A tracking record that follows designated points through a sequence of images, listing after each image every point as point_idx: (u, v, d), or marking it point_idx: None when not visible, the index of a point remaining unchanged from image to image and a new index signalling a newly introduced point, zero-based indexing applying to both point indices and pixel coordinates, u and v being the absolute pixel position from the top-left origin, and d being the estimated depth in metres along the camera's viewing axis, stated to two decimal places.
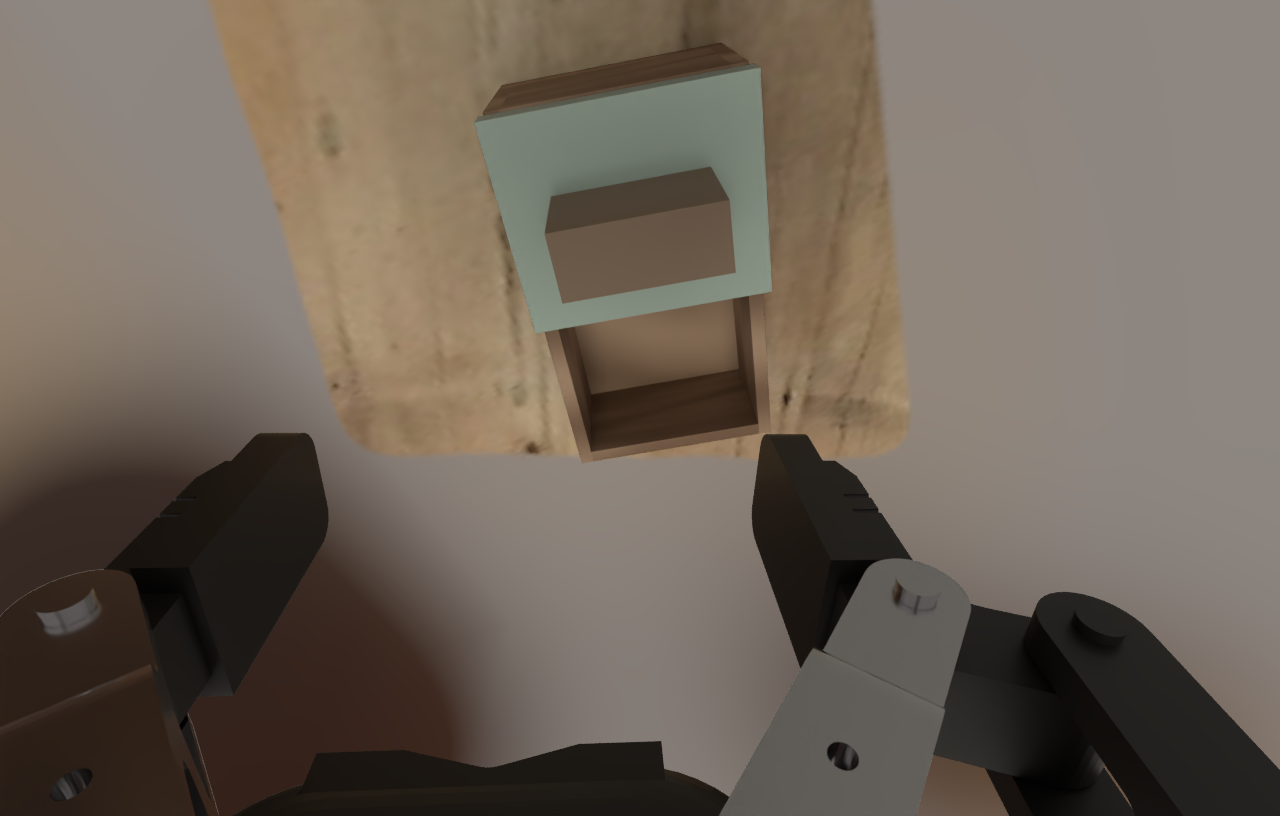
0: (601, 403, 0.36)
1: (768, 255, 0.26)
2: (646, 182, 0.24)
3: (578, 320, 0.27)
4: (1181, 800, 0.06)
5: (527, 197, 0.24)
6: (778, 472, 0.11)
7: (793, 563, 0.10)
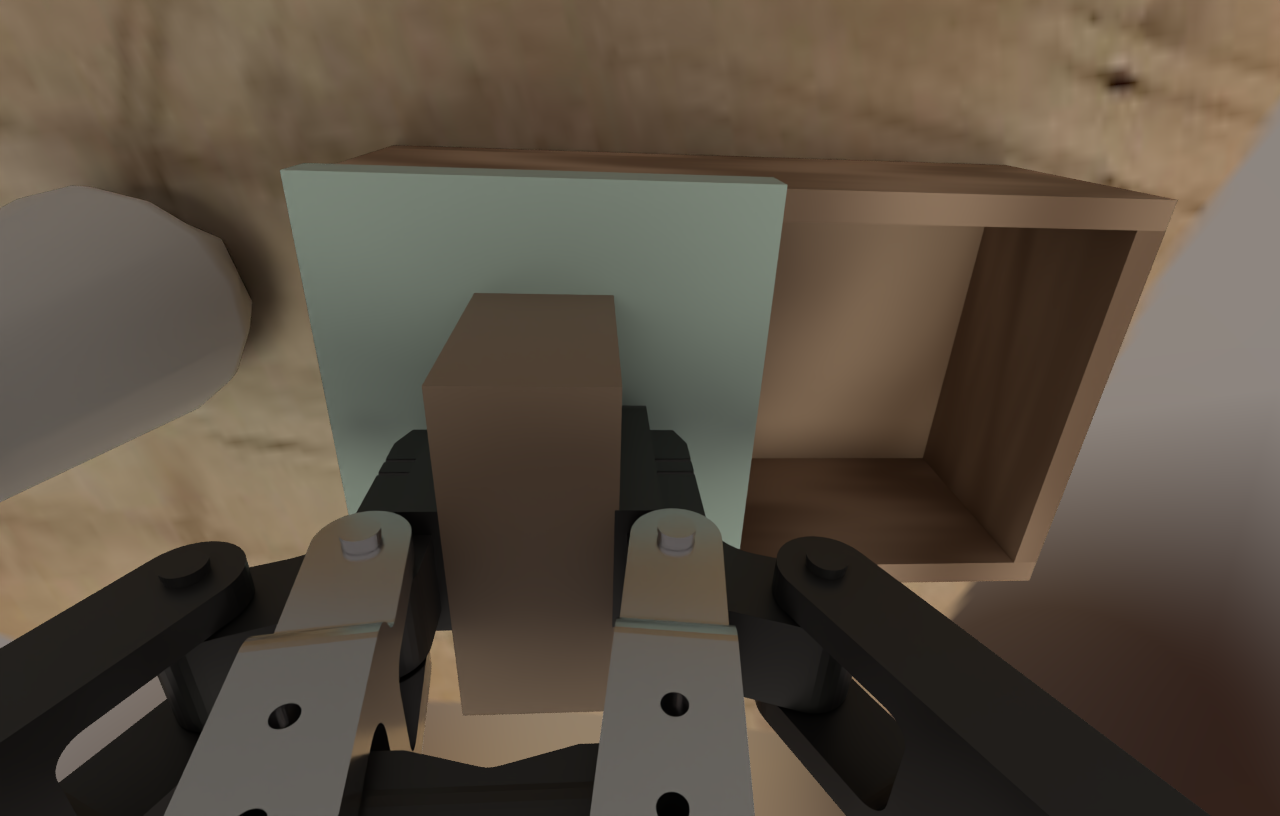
0: (942, 459, 0.20)
1: (694, 186, 0.11)
2: None
3: None
4: (929, 700, 0.06)
5: None
6: None
7: None
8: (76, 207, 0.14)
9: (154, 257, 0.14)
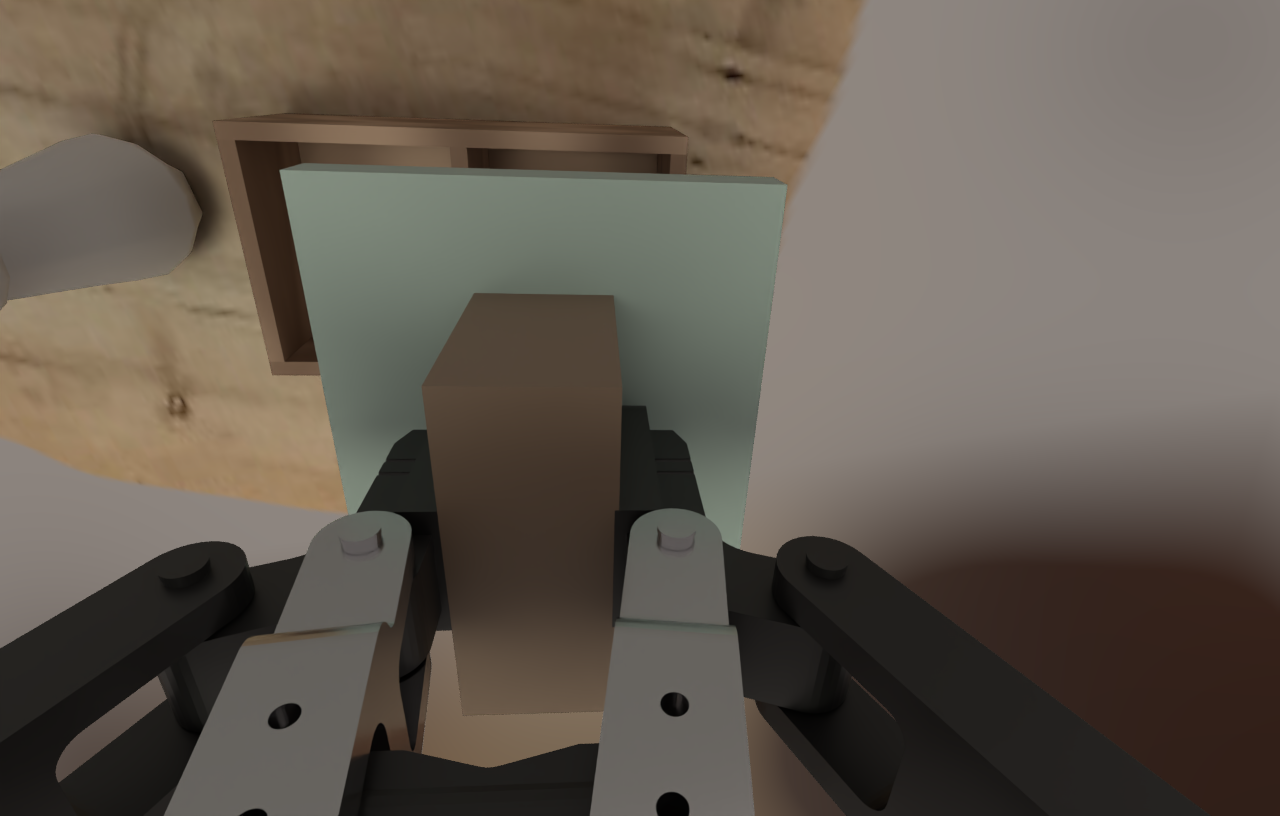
0: None
1: (694, 186, 0.11)
2: None
3: None
4: (929, 700, 0.06)
5: None
6: None
7: None
8: (95, 144, 0.25)
9: (139, 173, 0.25)
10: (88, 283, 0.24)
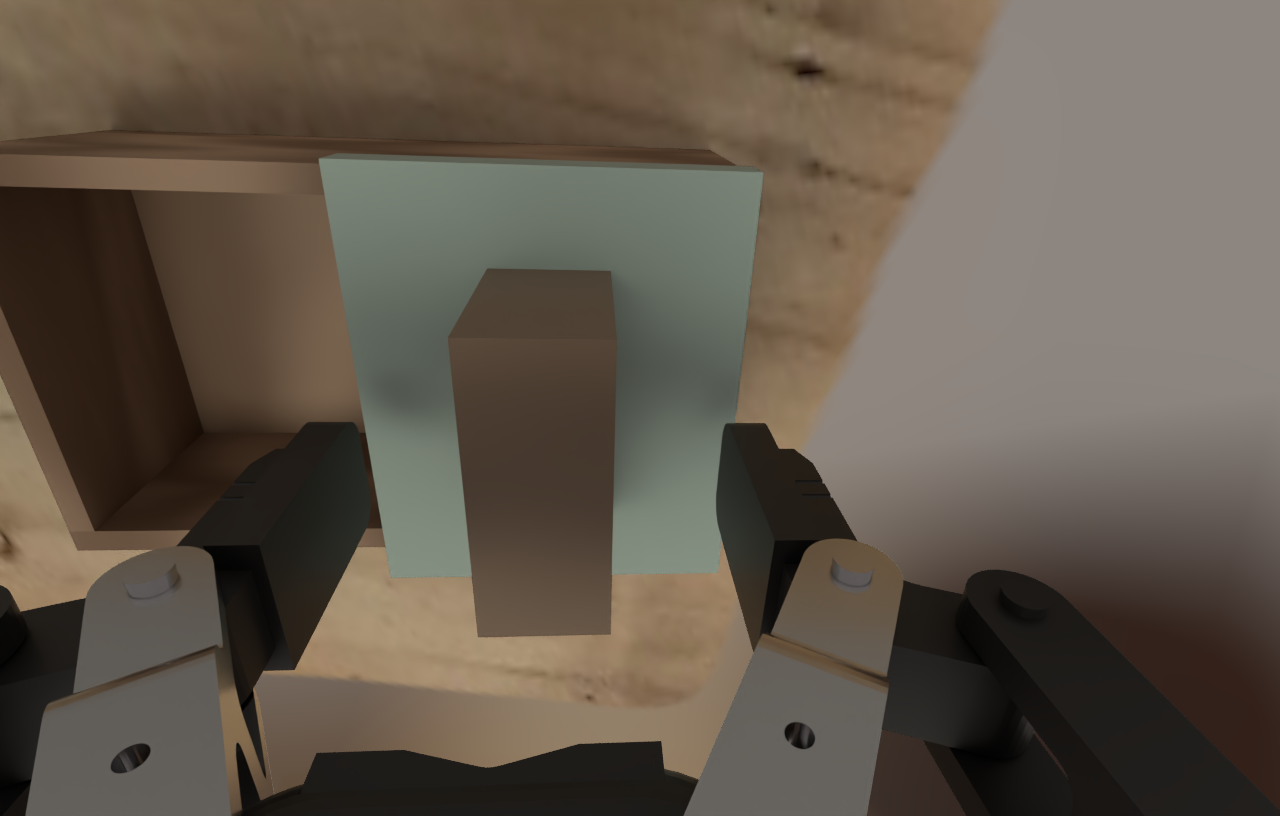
0: None
1: (681, 173, 0.13)
2: None
3: (714, 514, 0.16)
4: (1110, 763, 0.06)
5: None
6: (736, 459, 0.11)
7: (746, 546, 0.10)
8: None
9: None
10: None
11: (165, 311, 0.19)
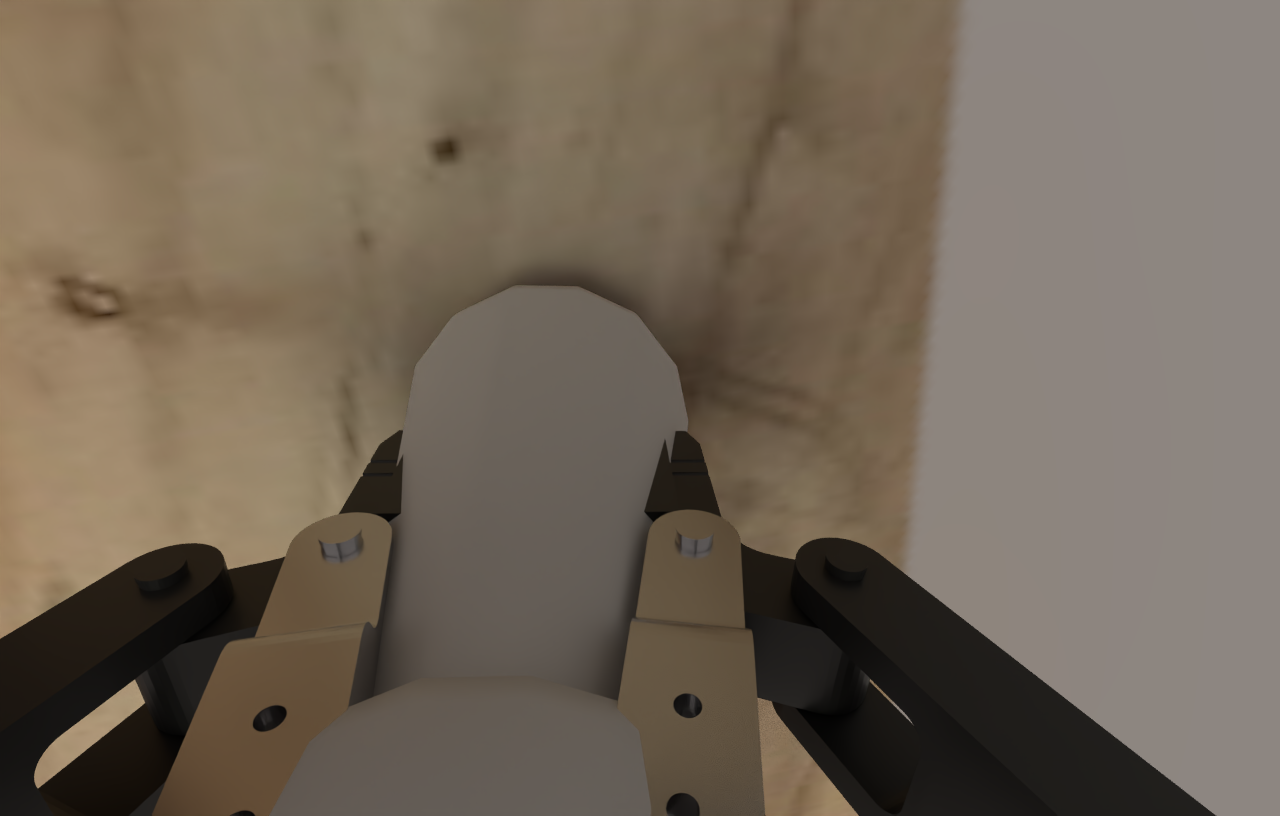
0: None
1: None
2: None
3: None
4: (947, 704, 0.06)
5: None
6: None
7: None
8: None
9: None
10: None
11: None
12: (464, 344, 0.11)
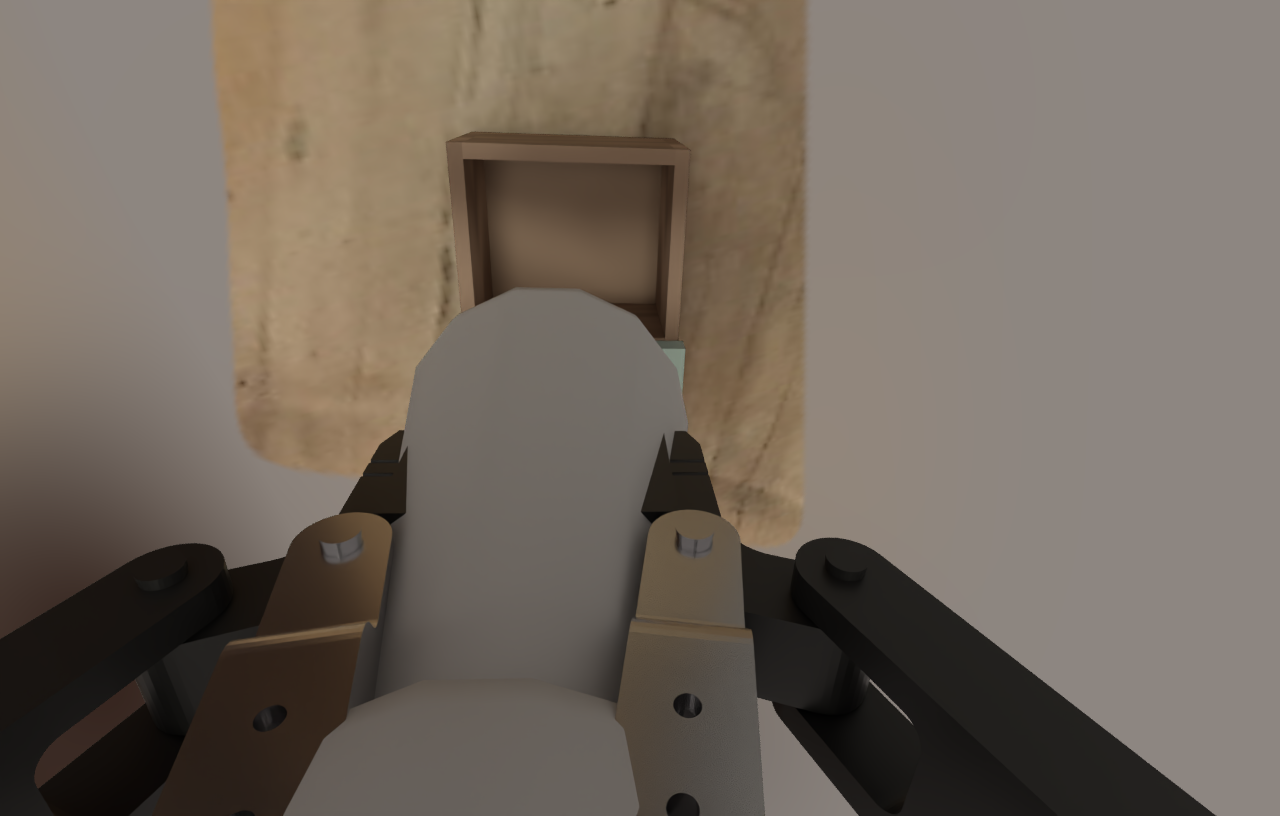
0: None
1: None
2: None
3: None
4: (947, 703, 0.06)
5: None
6: None
7: None
8: None
9: None
10: None
11: None
12: (465, 346, 0.11)
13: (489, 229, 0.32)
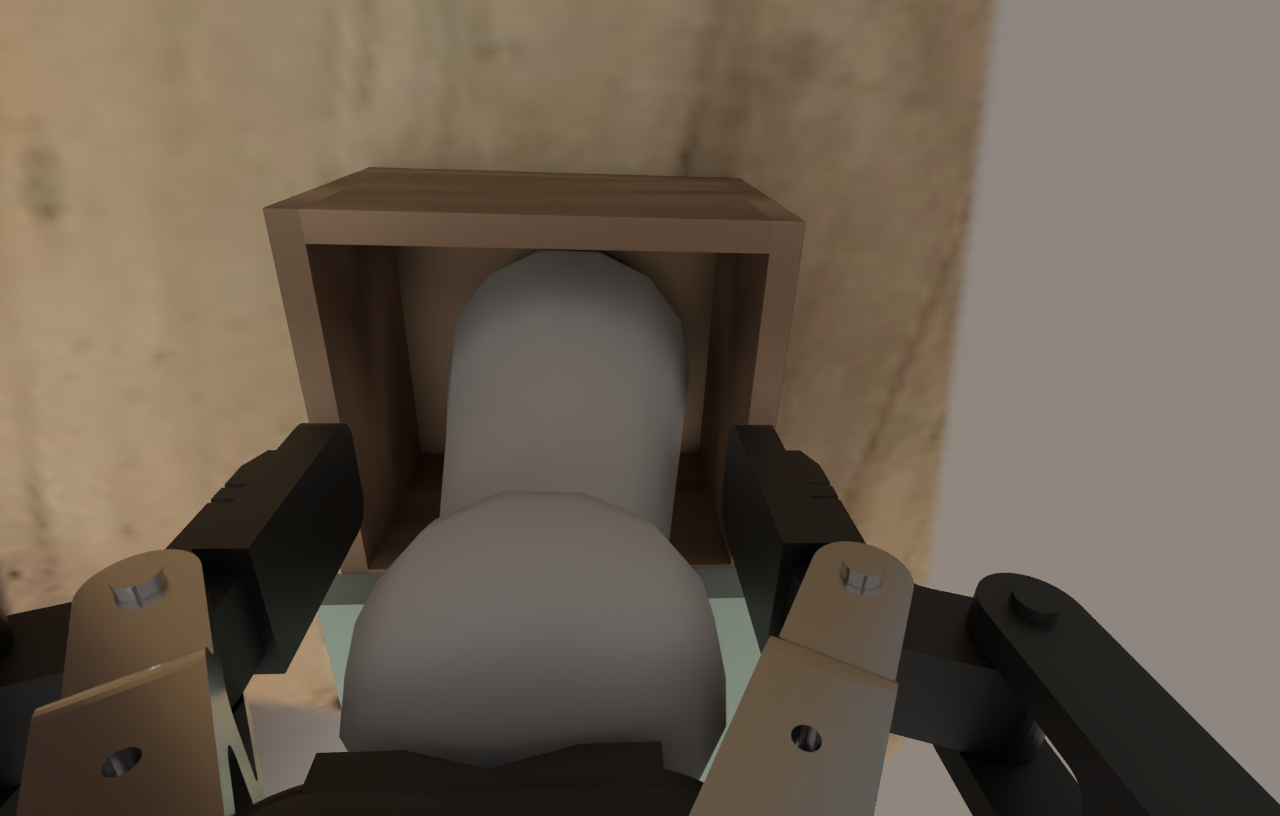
0: None
1: None
2: None
3: None
4: (1121, 768, 0.06)
5: None
6: (742, 461, 0.11)
7: (754, 548, 0.10)
8: None
9: None
10: None
11: None
12: (502, 294, 0.14)
13: (408, 339, 0.18)
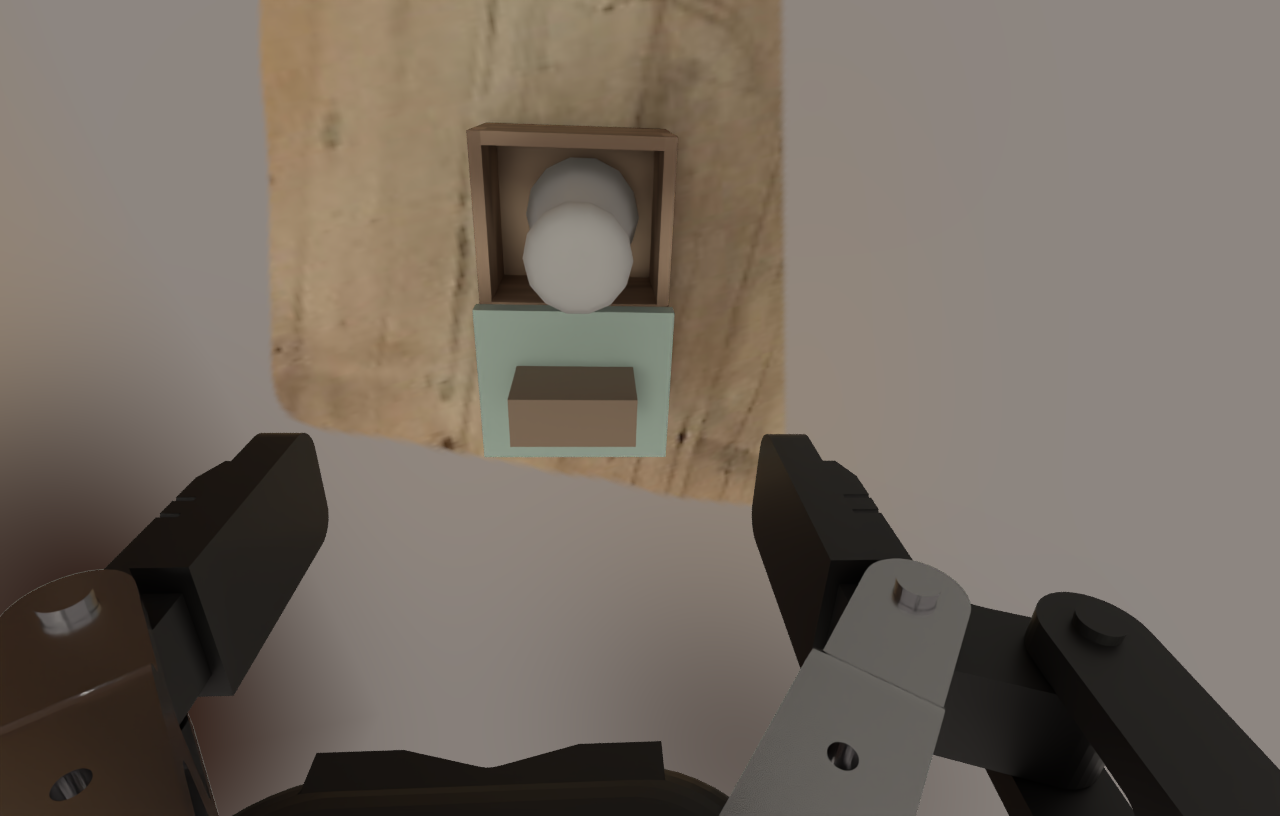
0: None
1: (665, 431, 0.36)
2: (586, 370, 0.33)
3: (519, 453, 0.36)
4: (1181, 800, 0.06)
5: (499, 363, 0.33)
6: (778, 472, 0.11)
7: (793, 563, 0.10)
8: (633, 232, 0.34)
9: None
10: None
11: None
12: (554, 173, 0.32)
13: (501, 209, 0.36)
